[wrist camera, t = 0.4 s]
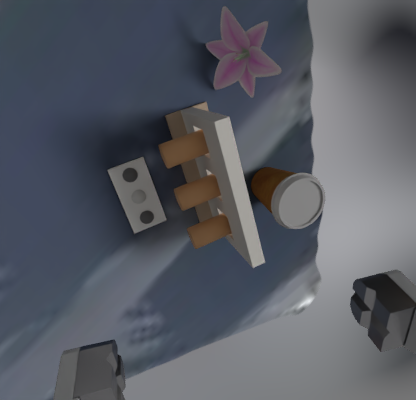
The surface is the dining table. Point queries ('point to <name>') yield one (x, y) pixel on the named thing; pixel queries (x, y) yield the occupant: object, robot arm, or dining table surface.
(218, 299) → the dining table surface
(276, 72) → the lily
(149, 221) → the card
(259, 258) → the panel
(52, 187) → the dining table surface
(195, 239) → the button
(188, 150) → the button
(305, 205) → the disposable coffee cup
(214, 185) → the button middle
